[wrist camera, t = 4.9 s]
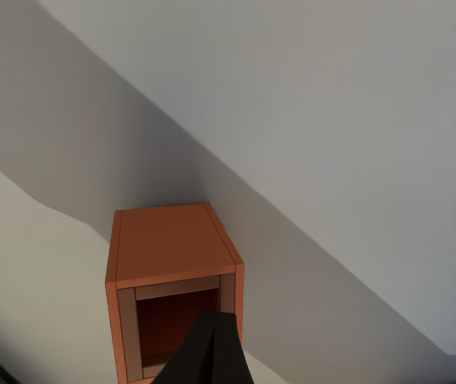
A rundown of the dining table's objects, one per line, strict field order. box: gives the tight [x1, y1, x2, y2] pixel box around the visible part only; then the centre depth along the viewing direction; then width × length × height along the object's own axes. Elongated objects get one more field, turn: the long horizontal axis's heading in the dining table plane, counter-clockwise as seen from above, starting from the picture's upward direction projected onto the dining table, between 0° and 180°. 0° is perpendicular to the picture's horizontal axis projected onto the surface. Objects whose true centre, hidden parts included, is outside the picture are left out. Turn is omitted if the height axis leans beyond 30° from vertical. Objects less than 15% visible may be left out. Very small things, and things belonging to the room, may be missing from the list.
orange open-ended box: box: [105, 203, 244, 384], centre depth 16 cm, size 6×5×5 cm
